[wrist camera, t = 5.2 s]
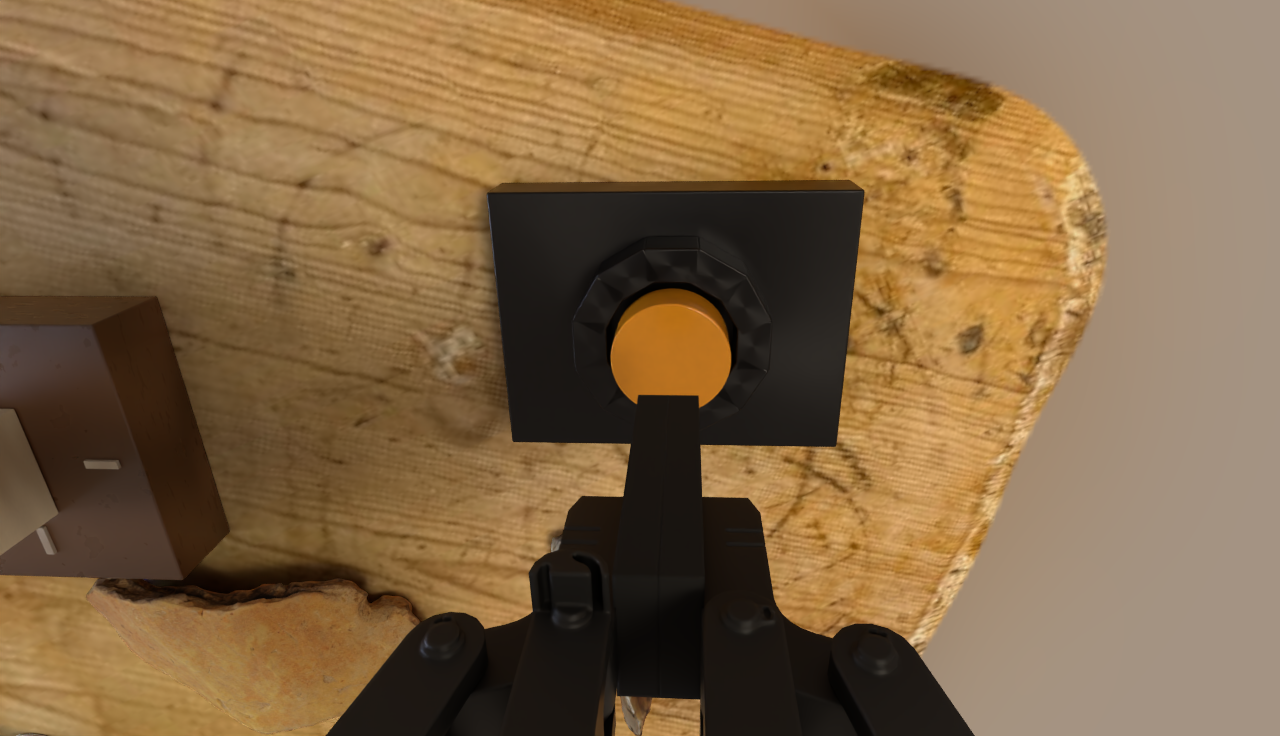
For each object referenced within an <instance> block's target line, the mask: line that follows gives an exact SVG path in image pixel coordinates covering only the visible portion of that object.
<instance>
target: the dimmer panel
mask: <svg viewBox="0 0 1280 736" xmlns="http://www.w3.org/2000/svg"><path fill="white" fill-rule="evenodd" d="M0 409H14V410H15V412H16V415H17V417H18V419H19V422H20V424H21V426H22V429H23V431H24V433H25V436H26V438H27V440H28V443H29V445H30V447H31V450H32V452H33V454H34V457H35V459H36V461H37V464H38V466H39V468H40V471H41V473H42V475H43V478H44V480H45V482H46V485H47V487H48V489H49V492H50V494H51V496H52V499H53V501H54V503H55V506H56V508H57V510H58V514H57V515H56V516H55V517H53V518H52V519H50V520H49V521H48V522H46V523H45V524H43V525H42V526H41V527H39V528H38V529H36V530H35V531H34V532H32V533H31V534H30V535H28V536H27V537H25V538H24V539H23V540H21V541H20V542H18V543H17V544H16V545H14V546H13V547H11V548H10V549H9V550H7V551H6V552H4V553H3V554H2V555H0V575H19V576H54V577H89V578H124V579H159V580H183V579H184V578H185V577H186V576H187V575H188V574H189V573H190V572H191V571H192V570H193V569H194V568H195V567H196V566H197V565H198V564H199V563H200V562H201V561H202V560H203V559H204V558H205V557H206V556H207V555H208V554H209V553H210V552H211V551H212V550H213V549H214V548H215V547H216V546H217V545H218V543H219V542H220V541H221V540H222V539H223V538H224V537H225V536H226V535H227V534H228V533H229V532H230V530H229V527H228V524H227V521H226V518H225V514H224V511H223V508H222V505H221V502H220V498H219V495H218V492H217V489H216V485H215V482H214V479H213V476H212V473H211V469H210V466H209V463H208V460H207V457H206V453H205V450H204V447H203V444H202V441H201V437H200V434H199V431H198V428H197V425H196V421H195V418H194V415H193V412H192V408H191V405H190V402H189V399H188V396H187V392H186V389H185V386H184V383H183V380H182V376H181V373H180V370H179V367H178V364H177V360H176V357H175V354H174V351H173V348H172V344H171V341H170V338H169V335H168V331H167V328H166V325H165V322H164V319H163V315H162V312H161V309H160V306H159V303H158V299H157V297H84V296H0Z"/></svg>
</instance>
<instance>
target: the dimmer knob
mask: <svg viewBox="0 0 1280 736" xmlns="http://www.w3.org/2000/svg"><path fill="white" fill-rule="evenodd" d="M57 514H58V510H57V508H56V506H55V503H54V501H53V499H52V496H51V494H50V492H49V489H48V487H47V485H46V482H45V480H44V478H43V475H42V473H41V471H40V468H39V466H38V464H37V461H36V459H35V457H34V454H33V452H32V450H31V447H30V445H29V443H28V440H27V438H26V436H25V433H24V431H23V429H22V426H21V424H20V422H19V419H18V417H17V415H16V412H15V410H14V409H0V555H2V554H3V553H4V552H6V551H7V550H9V549H10V548H11V547H13V546H14V545H16V544H17V543H18V542H20V541H21V540H23V539H24V538H25V537H27V536H28V535H30V534H31V533H32V532H34V531H35V530H36V529H38V528H39V527H41V526H42V525H43V524H45V523H46V522H48V521H49V520H50V519H52V518H53V517H55V516H56V515H57Z"/></svg>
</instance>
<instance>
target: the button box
mask: <svg viewBox="0 0 1280 736" xmlns="http://www.w3.org/2000/svg"><path fill="white" fill-rule="evenodd" d="M863 201H864V190H863V189H862V188H860V187H859V186H857V185H856V184H855V183H853V182H852V181H850V180H809V181H689V182H569V183H502V184H500V185H499V186H497V187H496V188H494V189H492V190H491V191H489V192H488V193H487V202H488V212H489V221H490V231H491V241H492V250H493V260H494V269H495V279H496V288H497V298H498V307H499V317H500V327H501V336H502V346H503V355H504V365H505V374H506V384H507V393H508V403H509V413H510V422H511V432H512V440H513V442H550V443H616V444H631V441H632V434H633V427H634V420H635V414H636V407H637V404H636V403H634V402H633V401H632V400H630V399H629V398H628V397H627V396H626V395H625V394H624V393H623V391H622V390H621V389H620V387H619V386H618V384H617V382H616V380H615V378H614V375H613V372H612V368H611V349H612V344H613V340H614V336H615V332H616V329H617V325H618V322H619V320H620V318H621V316H622V315H623V313H624V312H625V310H626V309H627V308H628V307H629V306H630V305H631V304H632V303H633V302H634V301H635V300H637V299H638V298H640V297H641V296H643V295H645V294H647V293H649V292H652V291H655V290H660V289H667V288H675V289H683V290H688V291H691V292H694V293H696V294H698V295H700V296H702V297H703V298H705V299H707V300H708V301H709V302H710V303H711V304H713V306H714V307H715V308H716V309H717V310H718V311H719V313H720V314H721V316H722V318H723V320H724V322H725V324H726V327H727V332H728V337H729V344H730V350H731V368H730V372H729V376H728V378H727V381H726V383H725V385H724V386H723V388H722V389H721V391H720V392H719V393H718V394H717V395H716V396H715V397H714V398H713V399H712V400H711V401H710V402H708V403H707V404H705V405H704V406H702V407H700V408H699V419H700V445H749V446H816V447H835V446H836V444H837V435H838V426H839V417H840V408H841V399H842V390H843V381H844V372H845V363H846V354H847V345H848V336H849V327H850V318H851V309H852V300H853V291H854V282H855V273H856V264H857V255H858V246H859V237H860V228H861V219H862V210H863Z"/></svg>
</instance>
